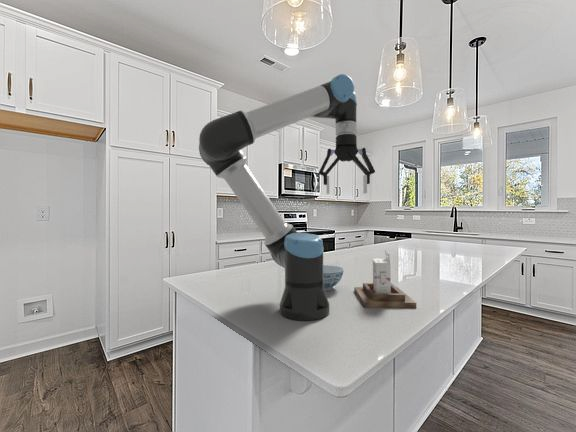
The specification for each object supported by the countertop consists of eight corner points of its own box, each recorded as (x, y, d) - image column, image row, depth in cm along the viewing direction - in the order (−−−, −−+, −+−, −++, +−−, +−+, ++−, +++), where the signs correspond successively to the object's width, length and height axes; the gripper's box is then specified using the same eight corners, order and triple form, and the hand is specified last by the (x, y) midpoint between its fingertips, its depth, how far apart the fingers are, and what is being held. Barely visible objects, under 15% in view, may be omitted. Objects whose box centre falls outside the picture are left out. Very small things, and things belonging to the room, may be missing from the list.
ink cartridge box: (372, 290, 104) (371, 249, 104) (386, 290, 104) (386, 250, 103) (375, 297, 96) (375, 253, 96) (391, 298, 95) (391, 253, 95)
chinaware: (346, 293, 106) (346, 272, 106) (306, 294, 106) (305, 273, 106) (340, 283, 121) (340, 264, 121) (304, 283, 121) (304, 265, 121)
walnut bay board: (364, 307, 91) (364, 296, 91) (354, 291, 109) (354, 281, 109) (416, 307, 90) (416, 296, 90) (397, 291, 108) (397, 281, 108)
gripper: (312, 133, 103) (312, 193, 103) (383, 132, 102) (383, 192, 102) (311, 138, 110) (312, 194, 111) (377, 137, 109) (378, 193, 110)
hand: (346, 193), depth 106 cm, fingers open, 13 cm apart
